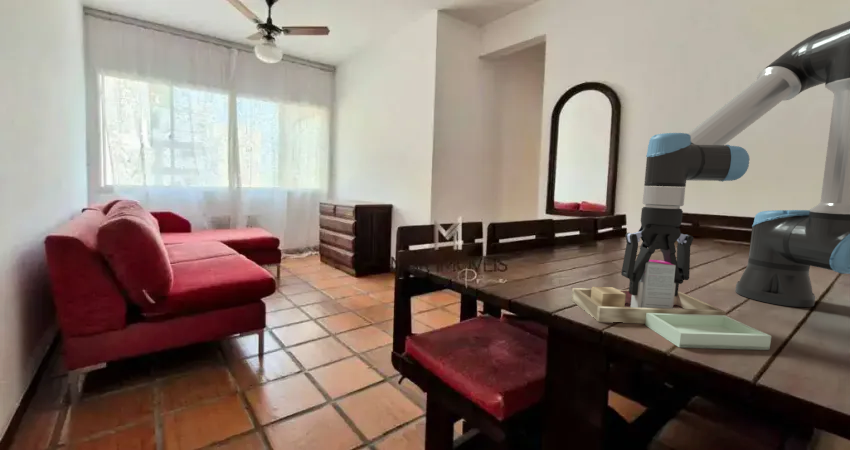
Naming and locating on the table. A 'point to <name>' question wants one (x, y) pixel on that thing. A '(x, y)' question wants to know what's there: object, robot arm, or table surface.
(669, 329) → the tray
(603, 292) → the oak block
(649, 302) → the supplement box
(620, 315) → the frame
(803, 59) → the robot arm
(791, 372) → the table surface
